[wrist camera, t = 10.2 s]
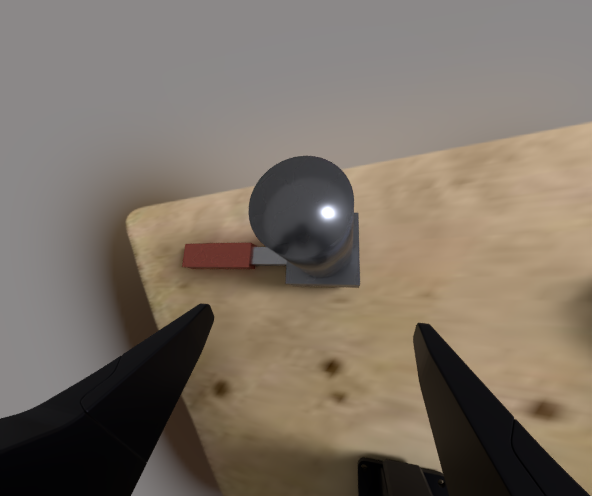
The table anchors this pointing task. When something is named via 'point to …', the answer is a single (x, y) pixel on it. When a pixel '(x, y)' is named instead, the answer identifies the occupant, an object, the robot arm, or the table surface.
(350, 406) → the table surface
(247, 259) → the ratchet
